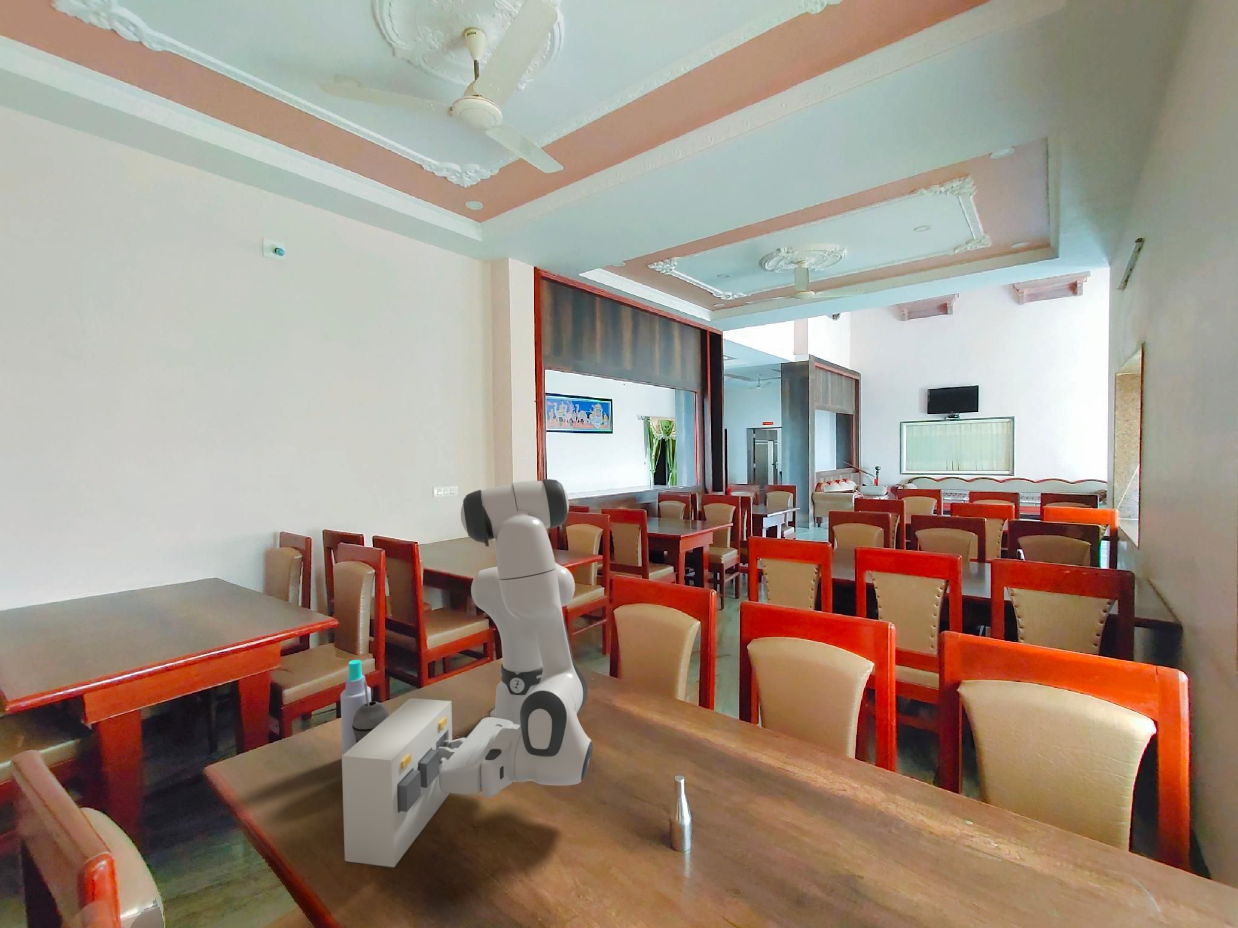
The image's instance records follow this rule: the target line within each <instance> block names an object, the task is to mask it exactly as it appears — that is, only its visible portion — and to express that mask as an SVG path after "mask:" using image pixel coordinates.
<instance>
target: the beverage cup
mask: <svg viewBox="0 0 1238 928" xmlns="http://www.w3.org/2000/svg"><path fill="white" fill-rule="evenodd" d="M367 684H368V683H367V681H365V682H364V688H365V696H366V703H365V704H364V705H362V706H361V707H360V708H359V709H358V710H357V712H356V714H355V716H354V719H353V724H352V728H353V731H354V735H355V738H356V743H358V742H359V741H360V740H361V739H362V738H363V737H365V736H366V735H367V734H368V733H369V732H371V731H372V730H373V729H374V728H375V727H377V726H378V725H379V724H380V723H381V722H383V721H384V720H385V719H386V718H387V717H389V716H390V714H389V711H388V709H387V707H386V706H385V705H384V704H383V703H381V702H378V701H372V700H371V702H369V698H368V690H367V686H368V685H367Z"/></svg>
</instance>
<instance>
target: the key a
mask: <svg viewBox="0 0 1238 928" xmlns="http://www.w3.org/2000/svg"><path fill="white" fill-rule="evenodd" d="M420 796H421V778H420V771H419V770H410V771H409V772H408V773H407V775H406V776H405V777H404V778H403V779H402V780H401V781H400V782H399V783H398V784H397V797H398V811H404V812H407V811H408V810H409V809H410V808H411V807H412V805H413V804H414V803H415V802H416V801H417V799H418V798H419V797H420Z"/></svg>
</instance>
